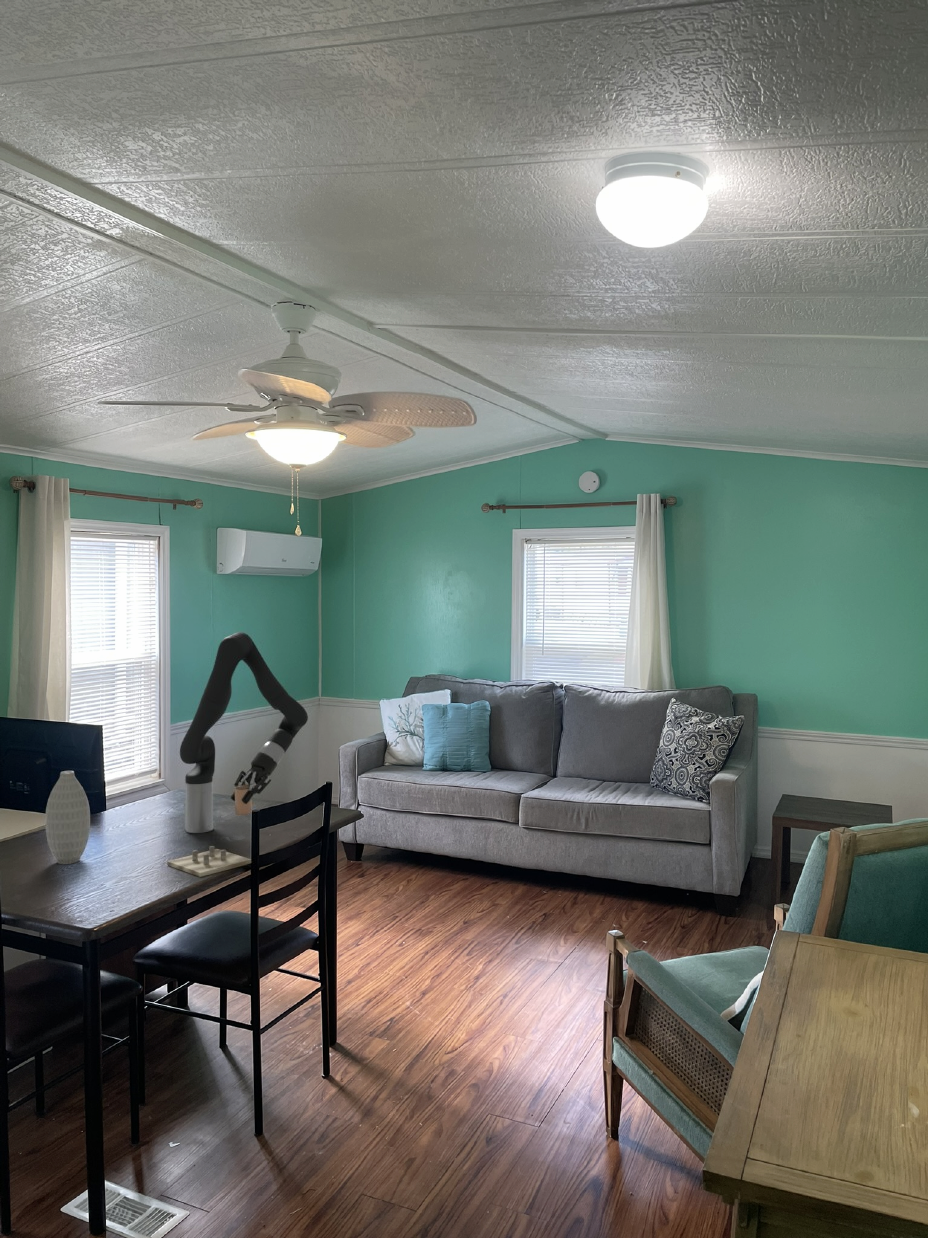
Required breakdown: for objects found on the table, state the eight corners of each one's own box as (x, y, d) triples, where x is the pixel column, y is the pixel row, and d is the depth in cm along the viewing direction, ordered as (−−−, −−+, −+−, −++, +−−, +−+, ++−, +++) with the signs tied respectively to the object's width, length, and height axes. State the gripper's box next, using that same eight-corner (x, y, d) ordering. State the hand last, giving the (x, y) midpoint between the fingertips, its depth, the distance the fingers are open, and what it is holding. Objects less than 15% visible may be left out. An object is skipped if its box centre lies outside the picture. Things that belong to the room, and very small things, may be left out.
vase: (46, 858, 286) (45, 769, 286) (90, 854, 291) (89, 766, 291) (45, 869, 275) (44, 777, 274) (90, 864, 280) (89, 773, 279)
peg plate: (167, 865, 279) (167, 851, 279) (217, 852, 292) (217, 839, 292) (200, 877, 267) (200, 862, 267) (251, 863, 281) (251, 849, 281)
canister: (231, 813, 291) (231, 786, 290) (245, 810, 295) (244, 783, 294) (241, 815, 287) (241, 788, 287) (255, 812, 291) (254, 785, 291)
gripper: (248, 749, 301) (217, 791, 292) (275, 753, 291) (244, 797, 283) (261, 763, 305) (232, 805, 296) (288, 767, 296) (259, 811, 287)
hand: (238, 801), depth 289 cm, fingers closed on canister, 5 cm apart
